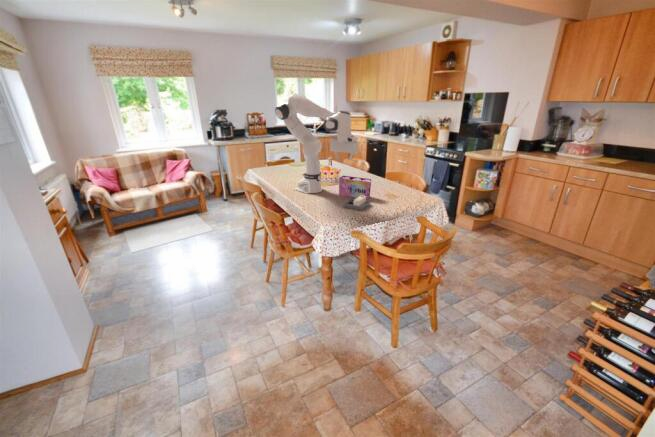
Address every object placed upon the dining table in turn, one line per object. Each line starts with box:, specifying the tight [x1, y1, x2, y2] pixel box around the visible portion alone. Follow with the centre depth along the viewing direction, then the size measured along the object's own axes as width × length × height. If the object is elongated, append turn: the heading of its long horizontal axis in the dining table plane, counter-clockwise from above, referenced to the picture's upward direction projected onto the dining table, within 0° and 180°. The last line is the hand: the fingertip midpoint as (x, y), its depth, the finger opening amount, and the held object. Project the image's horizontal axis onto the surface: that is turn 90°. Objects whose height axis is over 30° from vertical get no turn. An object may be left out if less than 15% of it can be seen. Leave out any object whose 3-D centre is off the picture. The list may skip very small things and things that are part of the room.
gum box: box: [338, 175, 372, 200], centre depth 220 cm, size 24×8×14 cm, turn 62°
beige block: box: [353, 195, 367, 206], centre depth 201 cm, size 4×11×6 cm, turn 148°
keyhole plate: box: [342, 197, 372, 212], centre depth 203 cm, size 14×14×2 cm
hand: (343, 159), depth 196 cm, fingers open, 8 cm apart
